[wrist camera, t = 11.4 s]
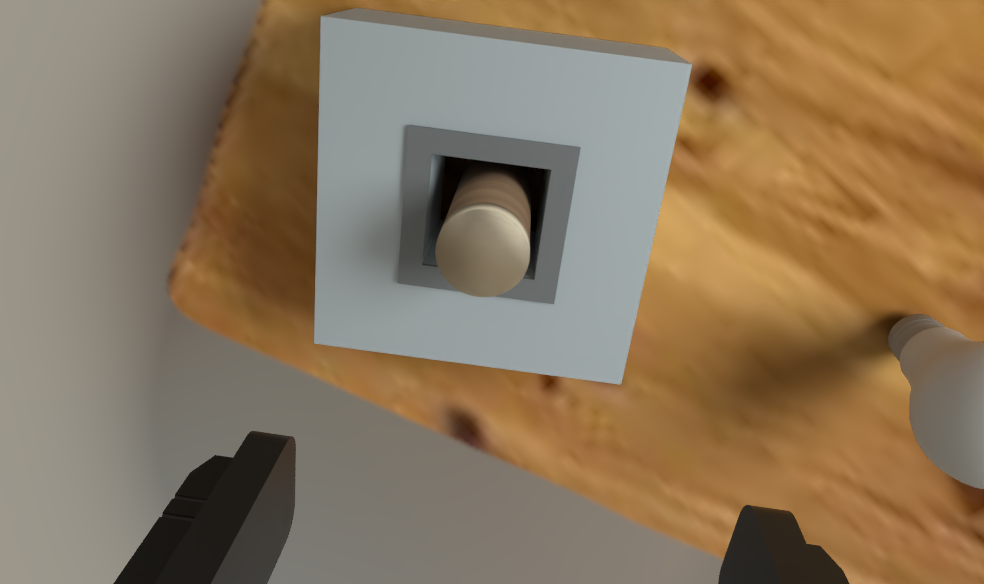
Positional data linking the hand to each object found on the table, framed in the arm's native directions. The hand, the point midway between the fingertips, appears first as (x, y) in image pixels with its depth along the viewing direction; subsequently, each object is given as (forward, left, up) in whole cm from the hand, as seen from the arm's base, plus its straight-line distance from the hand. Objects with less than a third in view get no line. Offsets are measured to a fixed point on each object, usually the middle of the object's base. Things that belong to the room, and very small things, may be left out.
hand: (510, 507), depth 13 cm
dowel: (+1, -1, -25) cm, 24 cm away
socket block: (+1, -2, -24) cm, 24 cm away
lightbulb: (+6, +20, -25) cm, 32 cm away
